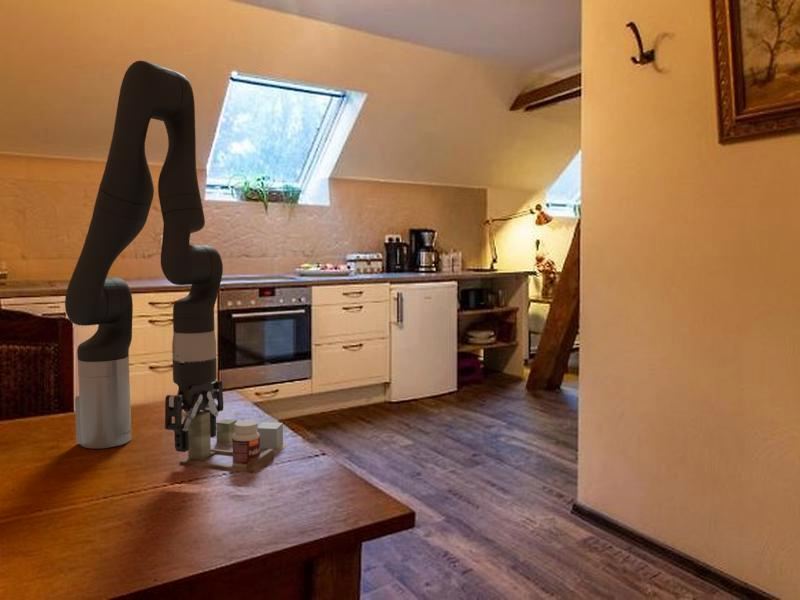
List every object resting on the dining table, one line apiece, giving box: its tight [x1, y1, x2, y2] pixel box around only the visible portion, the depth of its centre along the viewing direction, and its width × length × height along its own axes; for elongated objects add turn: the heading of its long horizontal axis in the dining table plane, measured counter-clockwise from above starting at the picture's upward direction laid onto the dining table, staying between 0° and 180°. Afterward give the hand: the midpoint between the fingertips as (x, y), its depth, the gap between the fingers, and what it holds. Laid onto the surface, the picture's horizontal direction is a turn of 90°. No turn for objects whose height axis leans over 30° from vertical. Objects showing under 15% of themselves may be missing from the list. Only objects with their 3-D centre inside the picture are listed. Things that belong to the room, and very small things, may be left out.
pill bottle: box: [232, 419, 261, 468], centre depth 107 cm, size 5×5×8 cm
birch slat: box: [214, 418, 290, 451], centre depth 118 cm, size 14×4×5 cm, turn 74°
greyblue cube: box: [257, 421, 284, 450], centre depth 117 cm, size 4×4×4 cm
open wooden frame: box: [179, 410, 275, 474], centre depth 108 cm, size 14×8×9 cm, turn 74°
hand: (196, 443), depth 110 cm, fingers open, 8 cm apart
